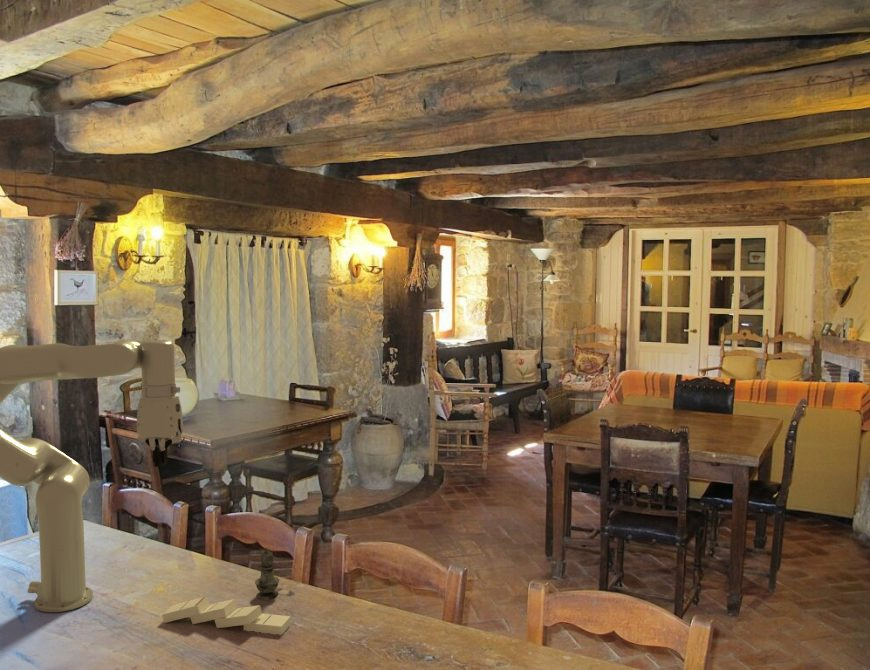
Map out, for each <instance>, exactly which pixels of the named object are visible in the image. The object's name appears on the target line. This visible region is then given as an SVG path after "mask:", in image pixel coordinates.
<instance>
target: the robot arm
mask: <svg viewBox="0 0 870 670" xmlns="http://www.w3.org/2000/svg"><path fill="white" fill-rule="evenodd" d="M175 362H176V361H175V345H174V343H173V342H172V341H170V340H166V339H165V340H164V339H153V340H136V339H130V338H129V339H128V338H126V339H120V340H117V341H115V342H113V343H107V344H106V343H105V344H92V345H69V344H66V343H58V342H57V343H44V344H34V345H19V344H9V345H6V346H5V345H4V346H1V347H0V404H1V403H3V401H4V400H5V399H6V398H7V397H8V396H9V395H10V394H11V393H12V392H14V390H15V389H16V388H17V387H19V385H20V384H22V383H23V384H24V383H33V382H45V381H46V382H47V381H56V380H57V381H58V380H73V379H74V380H75V379H76V380H77V379H79V380H80V379H96V378H104V377H105V378H106V377H117V376H122V375H126V374H128V373H130V372H132V371H133V370H135V369H136V370H137V369H141V396H140V397H139V400H138V404H137V412H136V414H137V415H136V434H137V441H138V442H140V443H145V444H146V445H147V446H148V447H149V448H150V450H151V451H152V462H153V467H154V468H162V467H163V466H166V465H167V463H168V449H170V447H171V446H172V445H174V444H179V443H181V442H182V440H183V438H182V434H183V433H184V417H183V411H182V409H183V408H182V405H181V404H182V403H181V401H180V396H178V395H176V394H177V393H180V392H181V388H180V386H177V384H176V377H175V375H176V374H175V372H176V371H175V369H176V367H175V365H176V364H175ZM0 478H1V479H2V480H4V481H5V482H7V483H8V484H10V485H13V486H16V487H17V486H18V487H21V486H22V487H24V486H27V485H29V484H31V483H33V482H34V483H36V484H37V485H39V486H38V487H37V490H36V494H35V508H36V509H35V510H36V515H37V522H38V523H37V524H38V534H39V535H38V536H39V537H38V538H39V540H38V542H39V554H40V555H39V560H40V561H39V562H40V581H37V580H36V581H35V580H34V581H33V580H32V581H30V583H29V585H28V588H27V594H36V596H37V597H36V598H35V599H34V608H35V609H36V610H37V611H40V612H43V613H62V612H67V611H72V610H74V609H78V608H81V607H83V606H85V605H87V604H88V603H89V602H90V601H91V600H92V599H93V598H94V591H93V589H92V588H90V587H88V586H86V556H85V555H86V554H85V553H86V552H85V529H84V525H85V524H84V516H83V509H82V500H83V498H84V496H85V494H86V492H87V491H88V489H89V487H90V481H91V479H90V475H89V472H88V471H87V470H86V468H85V467H84V466H83V465H82V464H80V463H79V462H78V461H76V460H75V459H73V458H71V457H70V456H68V455H66V453H64V452H63V451H61V450H59V449H58V448H56V447H55V446H54V445H52V444H51V443H49V442H47V441H45V440H43V439H40V438H37V437H27V438H23V439H20V440H18V438H17V439H16V438H15V437H13V436H12V435H10V434H8V433H7V432H6V431H5V430H3V429H2V428H0Z"/></svg>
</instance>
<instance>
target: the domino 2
mask: <svg viewBox="0 0 870 670" xmlns="http://www.w3.org/2000/svg"><path fill="white" fill-rule="evenodd" d="M236 608H239V607H238V604H237V601H236V598H233V599H227V600H224V601H220V602H215V603H210V604H209V605H208V606H207V607H206V608H205V609H204V610H203V611H202V612H201V613H200V614H198V615H194V616H190V617H189V618H190V620H191V623H192V625H195V624H200V623H205V622H210V621H215V619H218V618H223V617H227V616H228V615H229V614H230V613H231V612H232V611H234V610H235V609H236Z"/></svg>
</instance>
